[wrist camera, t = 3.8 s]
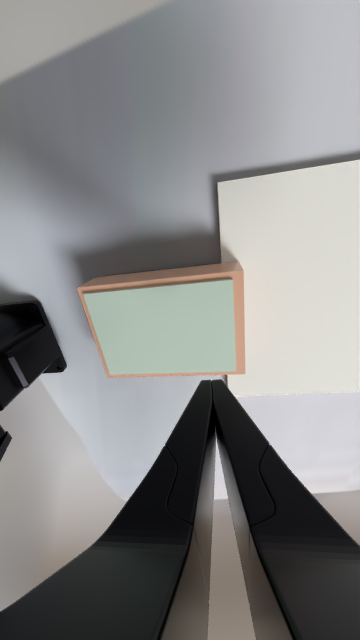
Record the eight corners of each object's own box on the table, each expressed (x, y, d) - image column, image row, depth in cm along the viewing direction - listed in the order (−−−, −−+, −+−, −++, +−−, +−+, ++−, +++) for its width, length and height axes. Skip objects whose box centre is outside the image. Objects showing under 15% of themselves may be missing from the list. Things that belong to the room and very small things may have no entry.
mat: (227, 393, 19) (228, 397, 19) (217, 183, 13) (217, 182, 12) (432, 384, 18) (438, 388, 17) (544, 131, 11) (559, 127, 10)
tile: (241, 353, 17) (120, 357, 19) (238, 261, 14) (95, 277, 16) (245, 376, 15) (106, 379, 16) (244, 271, 12) (74, 288, 13)
